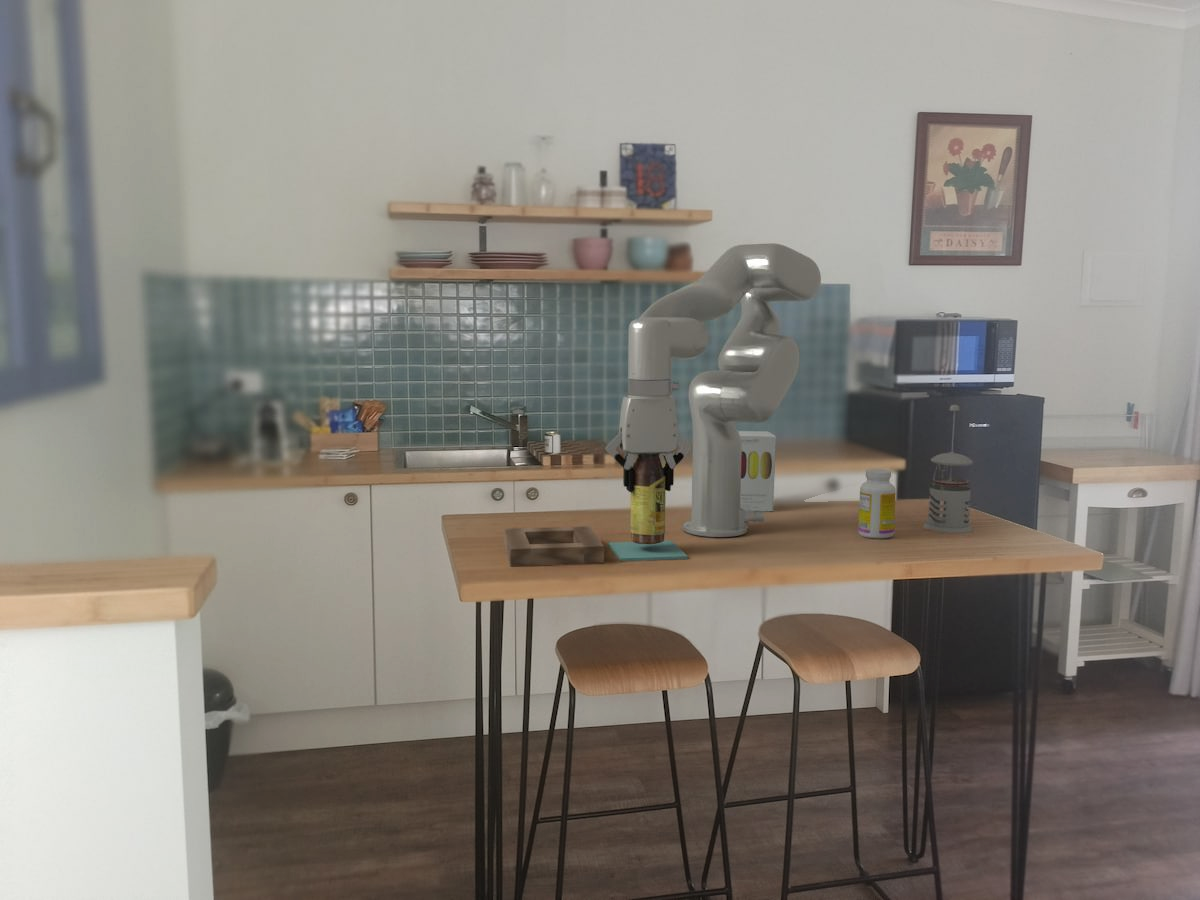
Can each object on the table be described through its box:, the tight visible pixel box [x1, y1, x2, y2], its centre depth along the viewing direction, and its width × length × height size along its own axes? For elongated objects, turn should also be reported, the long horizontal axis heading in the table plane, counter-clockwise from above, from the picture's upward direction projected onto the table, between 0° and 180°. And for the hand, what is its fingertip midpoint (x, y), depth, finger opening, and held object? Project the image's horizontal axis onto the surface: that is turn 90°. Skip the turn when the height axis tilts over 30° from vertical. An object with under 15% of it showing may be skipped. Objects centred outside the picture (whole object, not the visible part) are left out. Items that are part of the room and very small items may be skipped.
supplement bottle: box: [858, 468, 897, 540], centre depth 190 cm, size 7×7×13 cm
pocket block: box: [503, 525, 605, 567], centre depth 174 cm, size 16×16×3 cm
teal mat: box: [607, 540, 689, 562], centre depth 176 cm, size 12×12×1 cm
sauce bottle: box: [629, 454, 666, 545], centre depth 175 cm, size 6×6×20 cm
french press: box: [921, 404, 974, 534], centre depth 198 cm, size 10×12×25 cm
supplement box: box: [738, 430, 777, 513], centre depth 216 cm, size 10×9×17 cm
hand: (648, 489), depth 175 cm, fingers closed on sauce bottle, 6 cm apart
